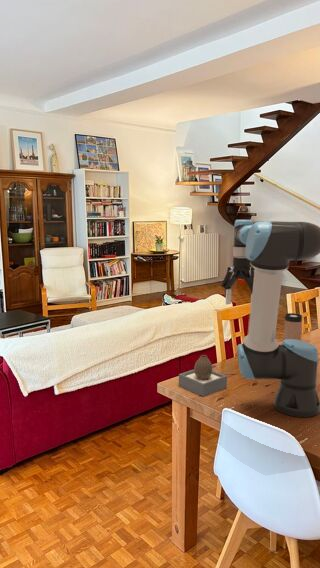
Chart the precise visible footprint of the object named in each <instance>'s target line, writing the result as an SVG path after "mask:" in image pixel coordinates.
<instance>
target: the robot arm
mask: <svg viewBox="0 0 320 568" xmlns="http://www.w3.org/2000/svg"><path fill="white" fill-rule="evenodd" d="M232 255H233V258H232V259H233V260H232V266H228V267H227V270H226V274H225V276H224V279H223V281H222V283H221V285H220V286H221V288H224V296H225V305H230V304H232V286H233V285H234V284H235V282H236V281H237V280H244V281H245V283H246V284H247V286H248V288H249V290H250V291H251V294H250V307H249V309H250V315H249V323H248V324H249V326H248V334H247V335H246V336H244V337H243V341H242V343H239V344H238V345H237V346H236V347H237V349H236V352H237V361H238V363H237V364H238V368H239V372H240V374H241V377H242V378H244V379H246V380H247V379H248V380H254V381H256V380H280V384H279V386H278V388H277V390H276V394H275V396H274V399H273V407H274V408H275V409H276V410H277V411H279V412H281V413H282V414H284V415H287V416H291V417H295V418H296V417H297V418H311V417H315V416H317V415H319V413H320V399H319V396H318V392H317V379H318V378H317V377H318V367H319V350H318V347H316V346H315V345H314V344H312V343H310V342H307V341H303V340H302V339H301V340H295V339H285V340H284V339H283V340H282V343H281V344H279V343H280V342H279V341H278V340H277V339H276V330H277V325H278V324H277V322H278V317H279V316H278V313H279V305H280V299H281V290H282V281H283V273H284V272H285V271H286V270H288V269H289V266H290V261H306V260H310V259H312V258H315V257H317V256H318V255H320V226H319V225H316V224H314V223H312V222H307V221H274V220H272V221H270V220H267V221H256V222H254V221H253V220H252V219H236V220H235V221H234V226H233V252H232ZM251 267H252V269H251Z"/></svg>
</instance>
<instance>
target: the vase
mask: <svg viewBox="0 0 320 568" xmlns="http://www.w3.org/2000/svg"><path fill="white" fill-rule="evenodd" d="M193 370H194V372H195V375H196V377H197V378H198V379H201V380H206V379H208V378H209V377H210V376H211V374H212V371H213V364H212V362H211V361H210V359H209V358H208V356H207V355H206V354H201V355H200V356H199V358H198V359H197V360H196V361H195V364H194V369H193Z"/></svg>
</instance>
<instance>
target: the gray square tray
mask: <svg viewBox="0 0 320 568" xmlns="http://www.w3.org/2000/svg"><path fill="white" fill-rule="evenodd" d="M178 386H179V387H180V388H183V389H184V390H187V391H190V392H192V393H194V394H196V395H198V396H200V395H201V396H200V397H202V396H204V397H206V396H209V395H211V394H214V393H216V392H217V393H218V392H219V391H222V390H224V389H227V388H228V387H227V386H228V376H227V375H226V374H224V373H223V374H222V373H220V372H217V371H214V370H212V374H211V376H210V377H209V378H208V379H206V380H201V379H198V378H197V377H196V375H195V372H194V369H190V370H188V371H184V372H182V373H179V374H178Z"/></svg>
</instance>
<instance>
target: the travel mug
mask: <svg viewBox="0 0 320 568" xmlns="http://www.w3.org/2000/svg"><path fill="white" fill-rule="evenodd" d="M284 315H285V316H284V317H285V318H284V328H283V329H284V331H283V340H285V339H295V340H301V341H302V325H303V324H302V323H303V316H302V314H300V313H290V312H289V313H285V314H284Z"/></svg>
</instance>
